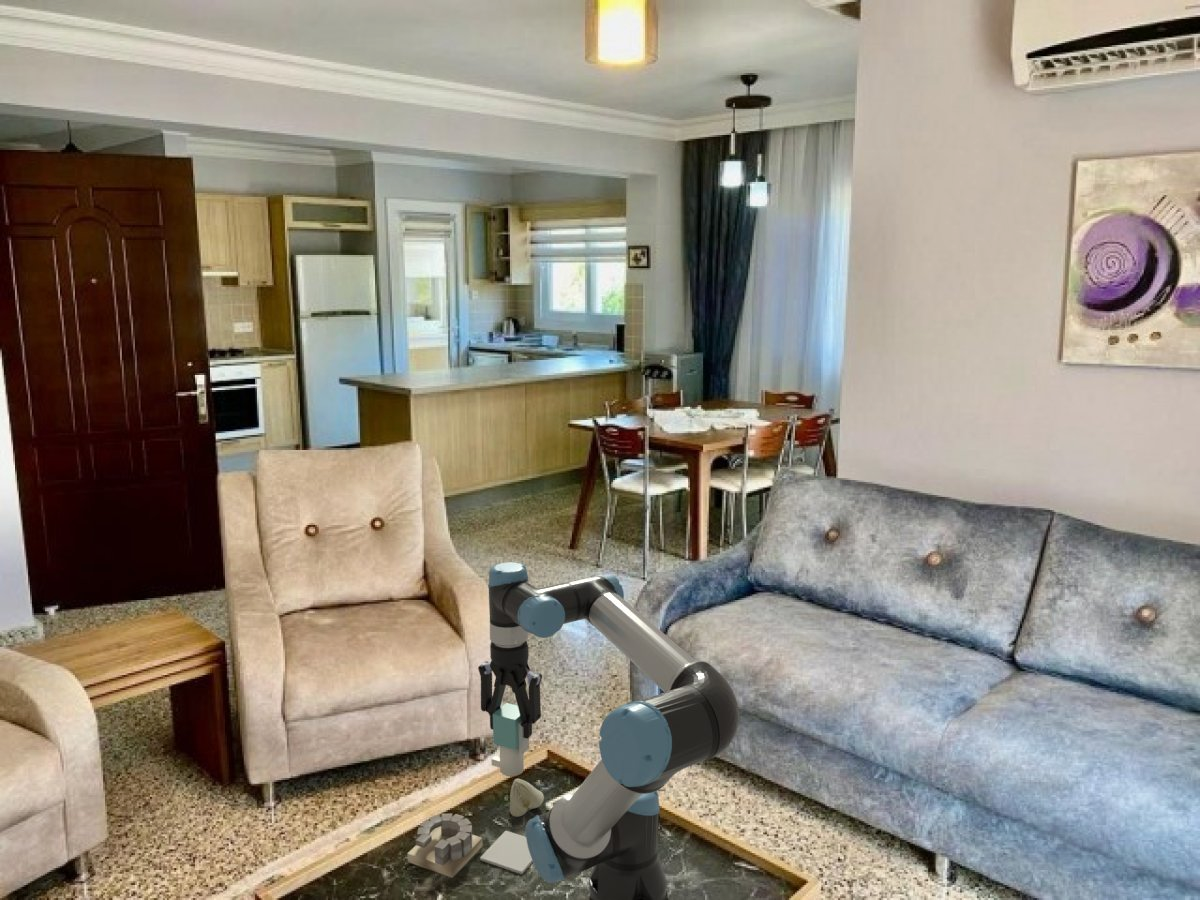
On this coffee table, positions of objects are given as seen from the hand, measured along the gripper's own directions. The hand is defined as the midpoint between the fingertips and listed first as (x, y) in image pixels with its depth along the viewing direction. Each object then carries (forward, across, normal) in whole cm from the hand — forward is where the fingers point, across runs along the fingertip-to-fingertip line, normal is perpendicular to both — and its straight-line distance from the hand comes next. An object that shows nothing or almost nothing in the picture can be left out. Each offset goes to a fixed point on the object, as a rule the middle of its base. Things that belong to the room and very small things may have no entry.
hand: (511, 747), depth 185 cm
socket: (+24, +12, +6) cm, 28 cm away
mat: (+24, 0, 0) cm, 24 cm away
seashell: (+25, +5, -15) cm, 29 cm away
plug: (+5, 0, 0) cm, 5 cm away
